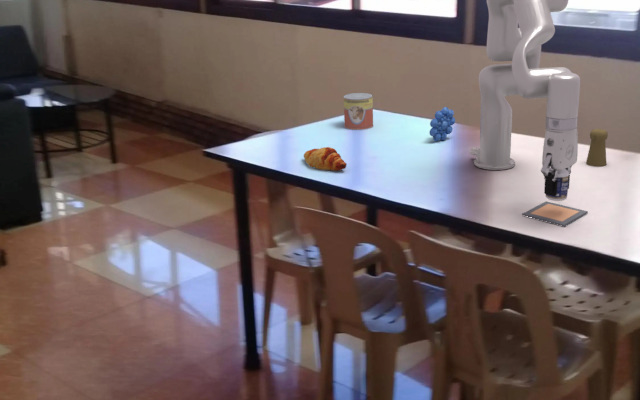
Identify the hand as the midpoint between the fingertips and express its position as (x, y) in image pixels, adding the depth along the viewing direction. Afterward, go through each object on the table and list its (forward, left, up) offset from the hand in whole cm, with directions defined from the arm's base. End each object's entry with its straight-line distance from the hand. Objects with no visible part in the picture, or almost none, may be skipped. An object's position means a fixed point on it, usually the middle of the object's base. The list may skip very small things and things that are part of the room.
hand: (556, 190), depth 191 cm
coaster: (0, 0, -7) cm, 7 cm away
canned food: (-104, +37, -7) cm, 111 cm away
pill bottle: (0, 0, -2) cm, 2 cm away
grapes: (-67, +40, -7) cm, 78 cm away
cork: (-12, +47, -7) cm, 49 cm away
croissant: (-78, -7, -7) cm, 79 cm away
